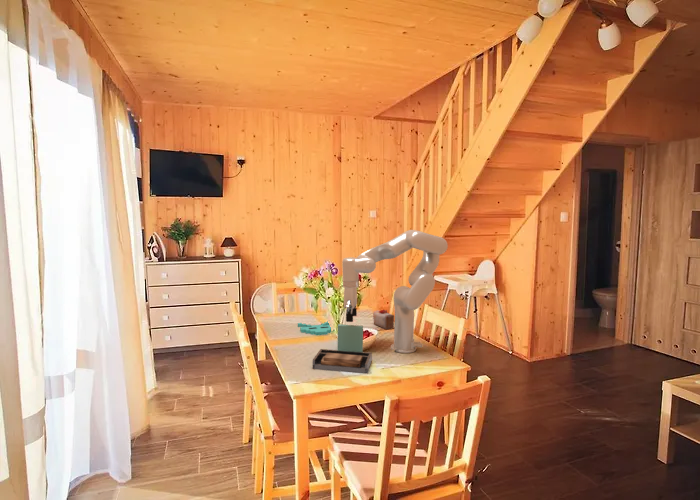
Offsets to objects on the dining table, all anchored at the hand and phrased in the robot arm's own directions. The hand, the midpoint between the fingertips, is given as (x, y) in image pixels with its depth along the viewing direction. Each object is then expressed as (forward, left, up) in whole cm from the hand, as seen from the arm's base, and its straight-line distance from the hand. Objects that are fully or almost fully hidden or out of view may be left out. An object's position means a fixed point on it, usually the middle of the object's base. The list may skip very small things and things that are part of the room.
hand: (351, 318), depth 206 cm
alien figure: (+26, -34, -18) cm, 46 cm away
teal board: (+1, 0, -17) cm, 17 cm away
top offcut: (0, +20, -13) cm, 24 cm away
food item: (-10, -49, -18) cm, 53 cm away
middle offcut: (+1, +20, -15) cm, 24 cm away
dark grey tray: (+1, +17, -17) cm, 24 cm away
